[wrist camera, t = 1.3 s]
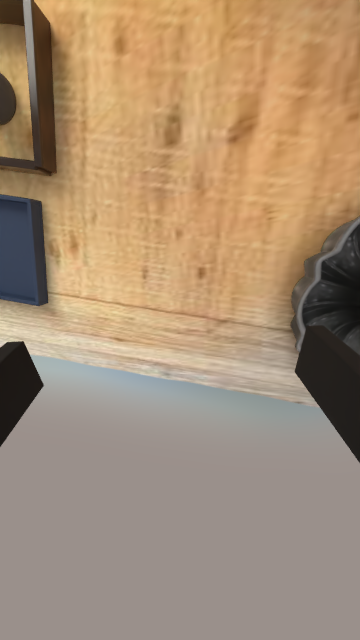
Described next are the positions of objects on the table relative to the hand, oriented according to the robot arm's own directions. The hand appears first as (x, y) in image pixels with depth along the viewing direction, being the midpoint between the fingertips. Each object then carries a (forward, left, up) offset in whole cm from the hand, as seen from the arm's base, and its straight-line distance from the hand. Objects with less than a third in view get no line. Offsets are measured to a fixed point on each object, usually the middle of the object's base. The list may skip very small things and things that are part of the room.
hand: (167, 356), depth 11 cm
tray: (0, -32, -25) cm, 41 cm away
